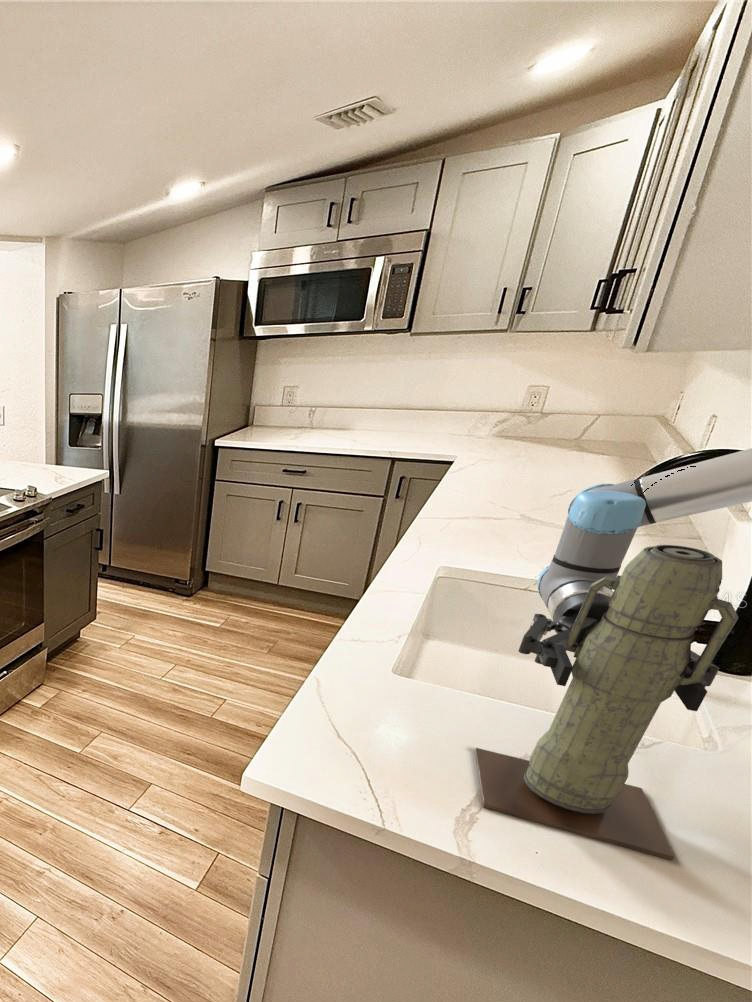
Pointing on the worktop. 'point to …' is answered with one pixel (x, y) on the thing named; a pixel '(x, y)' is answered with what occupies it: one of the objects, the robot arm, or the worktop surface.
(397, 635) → the worktop surface
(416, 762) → the worktop surface
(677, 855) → the worktop surface
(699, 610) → the thermos
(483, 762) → the board
